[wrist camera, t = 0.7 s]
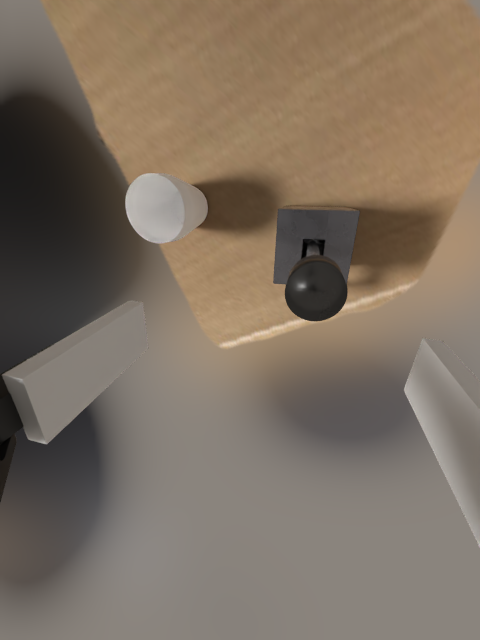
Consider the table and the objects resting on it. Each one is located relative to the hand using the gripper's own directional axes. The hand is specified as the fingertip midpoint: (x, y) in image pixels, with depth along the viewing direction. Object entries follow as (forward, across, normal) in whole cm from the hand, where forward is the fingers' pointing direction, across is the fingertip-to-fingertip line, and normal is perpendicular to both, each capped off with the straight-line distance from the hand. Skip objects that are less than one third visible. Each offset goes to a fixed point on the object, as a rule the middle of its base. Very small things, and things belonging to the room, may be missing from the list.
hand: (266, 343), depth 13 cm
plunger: (+27, +2, +1) cm, 27 cm away
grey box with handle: (+36, +2, -1) cm, 36 cm away
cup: (+36, -19, +4) cm, 41 cm away
